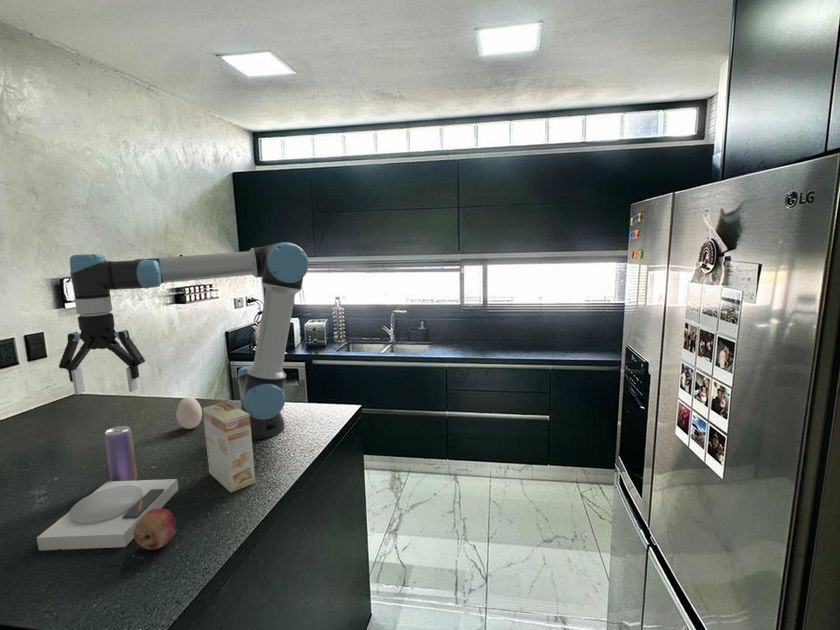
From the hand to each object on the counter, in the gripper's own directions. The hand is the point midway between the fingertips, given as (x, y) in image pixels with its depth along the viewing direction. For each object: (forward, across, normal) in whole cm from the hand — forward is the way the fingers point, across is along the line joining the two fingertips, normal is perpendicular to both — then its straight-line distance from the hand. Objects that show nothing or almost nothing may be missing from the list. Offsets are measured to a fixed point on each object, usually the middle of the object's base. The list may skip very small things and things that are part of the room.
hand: (106, 391), depth 117 cm
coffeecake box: (+25, -32, +4) cm, 41 cm away
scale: (+25, -10, +19) cm, 33 cm away
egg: (+25, -6, -32) cm, 41 cm away
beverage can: (+25, -3, +3) cm, 25 cm away
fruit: (+25, -25, +31) cm, 47 cm away
